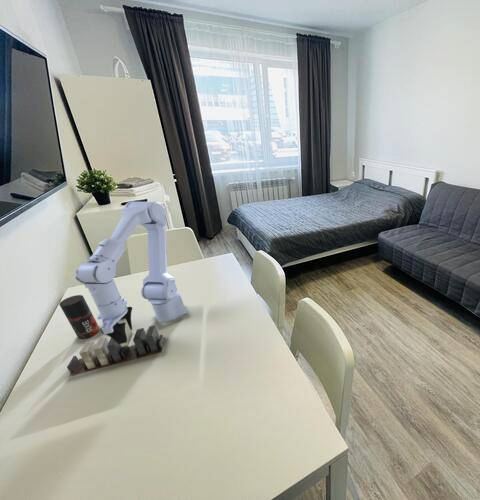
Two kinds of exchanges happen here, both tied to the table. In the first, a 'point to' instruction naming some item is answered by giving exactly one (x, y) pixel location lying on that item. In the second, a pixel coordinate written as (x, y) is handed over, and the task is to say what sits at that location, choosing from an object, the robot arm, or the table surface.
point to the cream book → (128, 332)
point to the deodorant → (80, 316)
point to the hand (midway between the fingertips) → (125, 336)
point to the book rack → (116, 351)
